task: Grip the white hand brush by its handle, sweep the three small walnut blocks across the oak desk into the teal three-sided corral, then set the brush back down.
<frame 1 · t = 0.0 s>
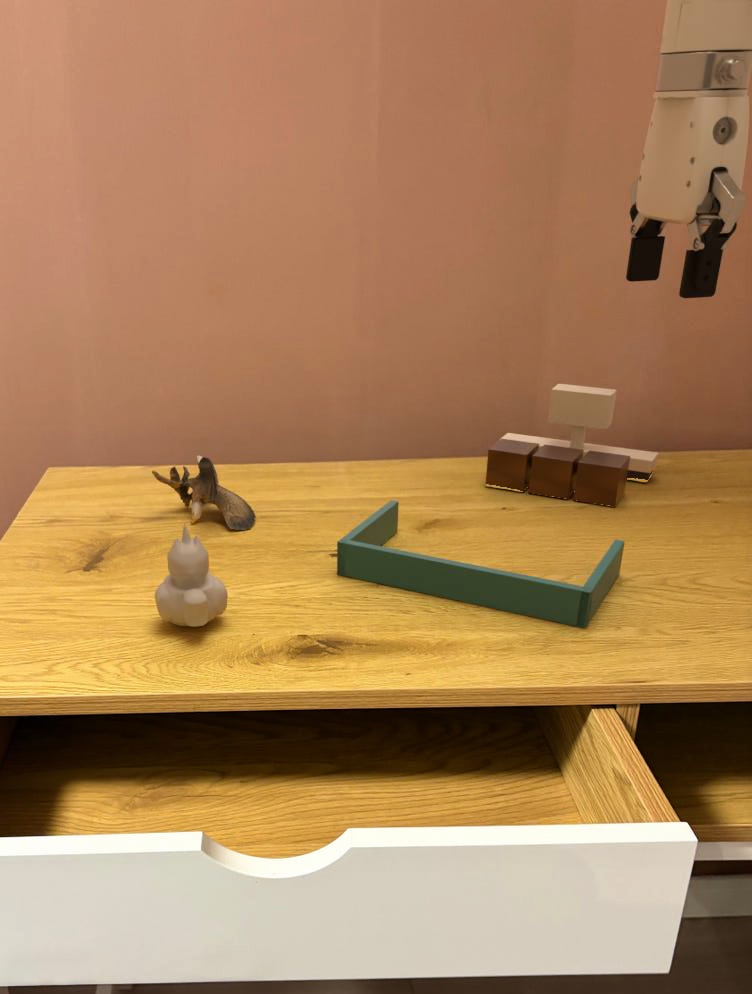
hand: (667, 288, 91), 19 cm above the table, tool pointing down, fingers open, 9 cm apart
brush: (573, 468, 104), on the table
grey rounded lumpy piece: (193, 627, 75), on the table
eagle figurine: (210, 520, 94), on the table
block 2: (553, 490, 98), on the table
block 1: (598, 497, 96), on the table
corral: (478, 572, 82), on the table
block 3: (510, 484, 100), on the table
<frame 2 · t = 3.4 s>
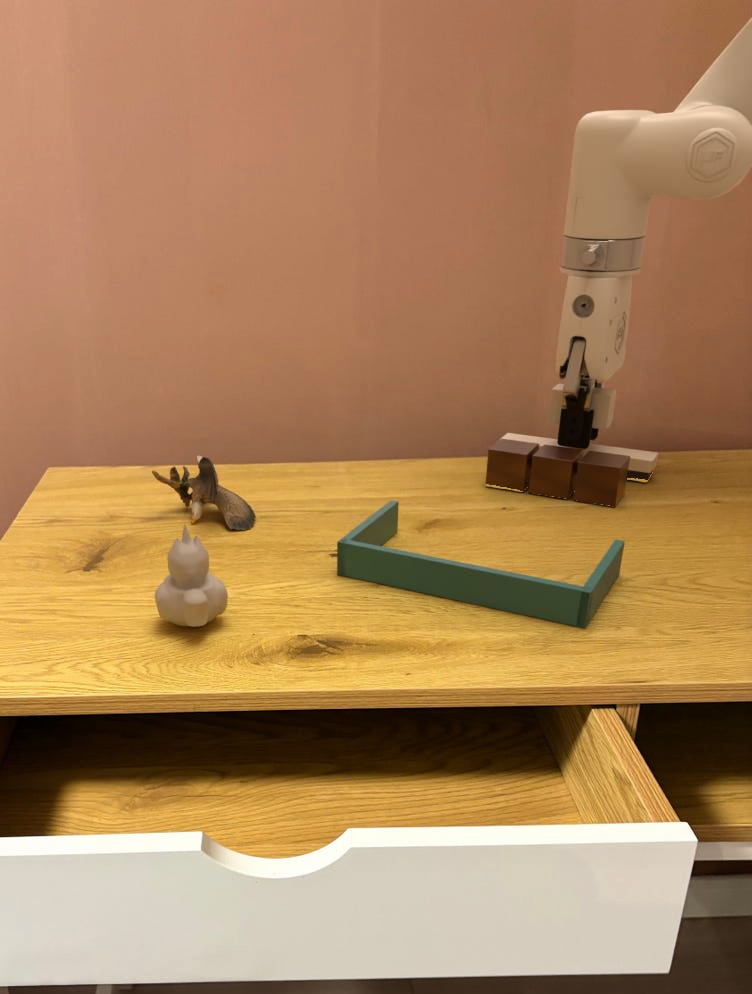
hand: (577, 440, 102), 3 cm above the table, tool pointing down, fingers closed on brush, 2 cm apart
brush: (573, 468, 104), on the table, touching gripper
everything else where it was.
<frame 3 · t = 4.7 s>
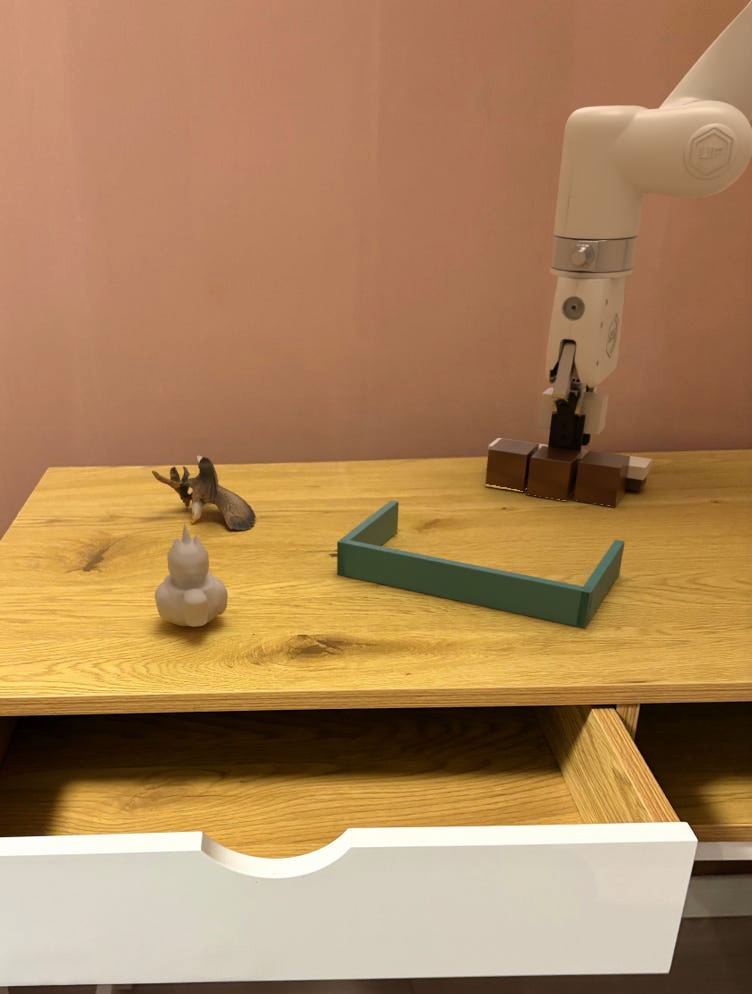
hand: (568, 446, 99), 3 cm above the table, tool pointing down, fingers closed on brush, 2 cm apart
brush: (565, 475, 101), on the table, touching gripper
block 2: (551, 492, 98), on the table, touching gripper
everything else where it was.
when the fingers open (3 cm above the table, at t = 18.9 s): brush stays where it is, on the table.
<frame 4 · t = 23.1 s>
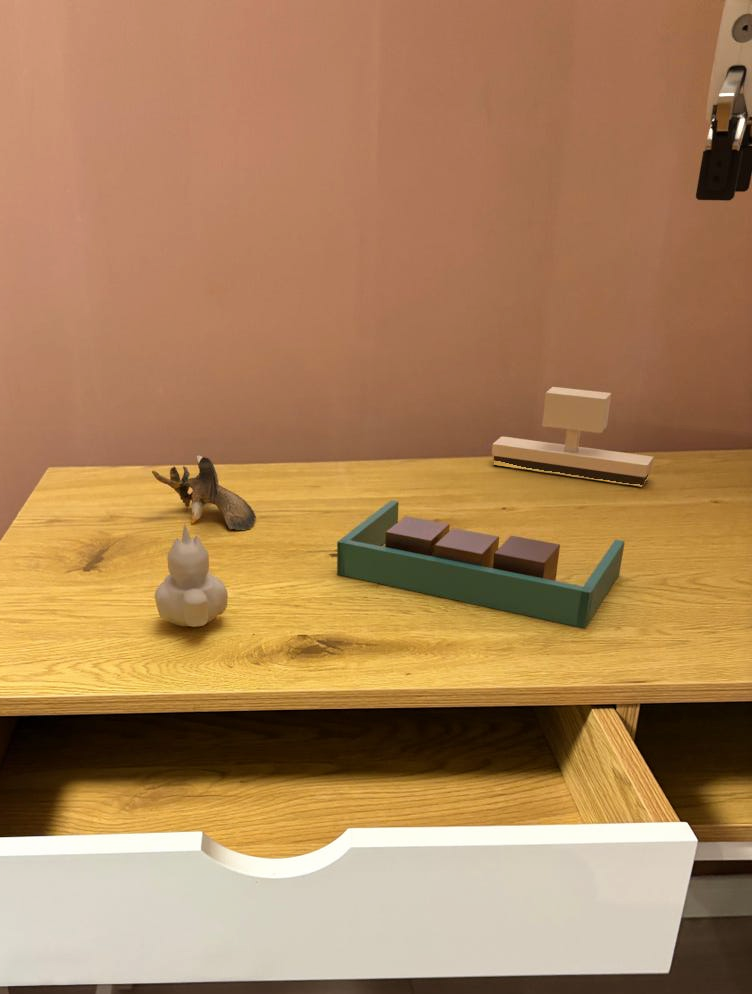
hand: (722, 195, 92), 26 cm above the table, tool pointing down, fingers open, 9 cm apart
brush: (568, 472, 103), on the table
block 2: (463, 585, 79), on the table
block 1: (522, 594, 78), on the table
block 3: (415, 571, 82), on the table
everything else where it was.
at the end: block 1 inside the target area on the corral (4.9 cm from its centre), point 0.0 cm above the corral's base; block 2 inside the target area on the corral (2.7 cm from its centre), point 0.0 cm above the corral's base; block 3 inside the target area on the corral (5.1 cm from its centre), point 0.0 cm above the corral's base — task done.
